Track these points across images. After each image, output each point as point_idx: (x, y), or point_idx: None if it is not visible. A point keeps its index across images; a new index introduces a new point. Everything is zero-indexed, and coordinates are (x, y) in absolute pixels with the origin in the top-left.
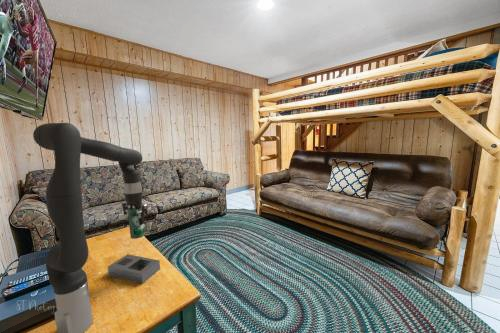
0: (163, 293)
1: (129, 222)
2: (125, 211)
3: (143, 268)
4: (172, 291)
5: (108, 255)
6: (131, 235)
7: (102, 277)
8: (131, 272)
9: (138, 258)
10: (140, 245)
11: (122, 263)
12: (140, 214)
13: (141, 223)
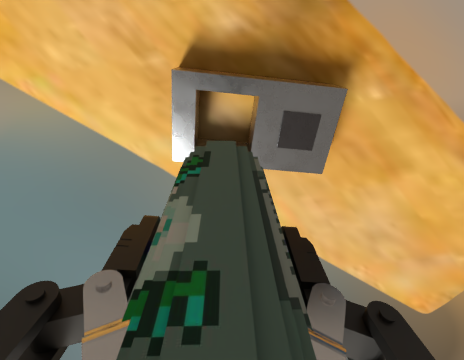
0: (70, 36)
1: (255, 210)
2: (388, 353)
3: (194, 106)
4: (50, 52)
5: (407, 180)
6: (234, 149)
7: (348, 70)
8: (224, 75)
9: (260, 157)
10: (331, 242)
11: (299, 117)
12: (84, 320)
13: (135, 227)
